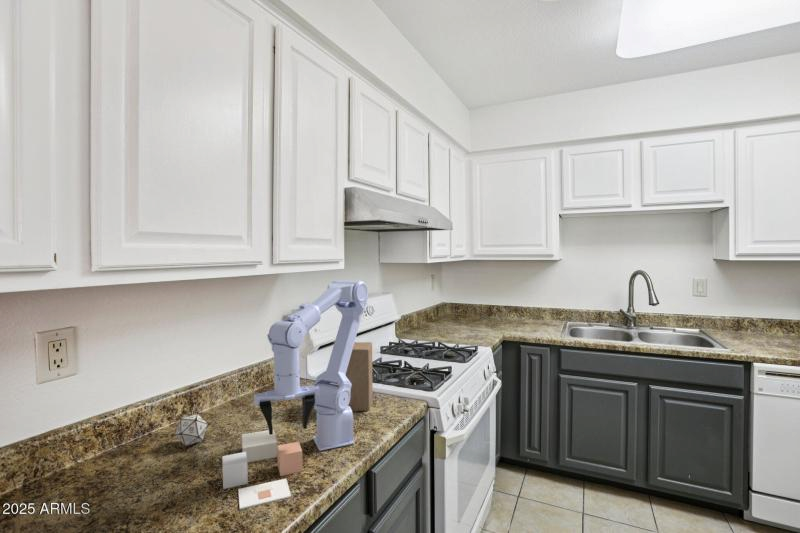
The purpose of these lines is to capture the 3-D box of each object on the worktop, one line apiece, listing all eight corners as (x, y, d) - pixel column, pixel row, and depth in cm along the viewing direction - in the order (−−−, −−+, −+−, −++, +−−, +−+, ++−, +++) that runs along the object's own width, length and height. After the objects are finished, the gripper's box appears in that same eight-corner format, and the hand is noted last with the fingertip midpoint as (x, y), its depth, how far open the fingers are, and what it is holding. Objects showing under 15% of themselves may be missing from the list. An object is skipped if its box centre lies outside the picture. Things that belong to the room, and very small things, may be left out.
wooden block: (343, 399, 140) (343, 341, 139) (372, 399, 140) (372, 342, 139) (338, 411, 130) (337, 349, 129) (369, 411, 130) (368, 349, 129)
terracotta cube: (298, 461, 99) (298, 441, 99) (302, 471, 95) (302, 450, 95) (277, 466, 97) (277, 445, 97) (280, 476, 93) (280, 455, 93)
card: (286, 479, 91) (286, 477, 91) (291, 497, 85) (291, 495, 85) (238, 490, 87) (238, 488, 87) (239, 509, 81) (239, 507, 81)
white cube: (246, 472, 95) (246, 451, 94) (247, 483, 90) (247, 461, 90) (223, 477, 93) (222, 456, 92) (223, 489, 88) (222, 466, 88)
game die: (194, 454, 110) (207, 416, 116) (207, 452, 105) (221, 412, 111) (160, 447, 105) (176, 407, 111) (173, 445, 100) (189, 403, 106)
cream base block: (274, 443, 109) (273, 429, 109) (277, 457, 102) (276, 442, 101) (242, 449, 106) (241, 434, 106) (242, 464, 99) (242, 448, 98)
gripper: (254, 381, 88) (256, 443, 89) (321, 373, 94) (322, 431, 94) (253, 372, 95) (254, 429, 95) (315, 365, 100) (316, 419, 101)
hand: (287, 429), depth 95 cm, fingers open, 7 cm apart
